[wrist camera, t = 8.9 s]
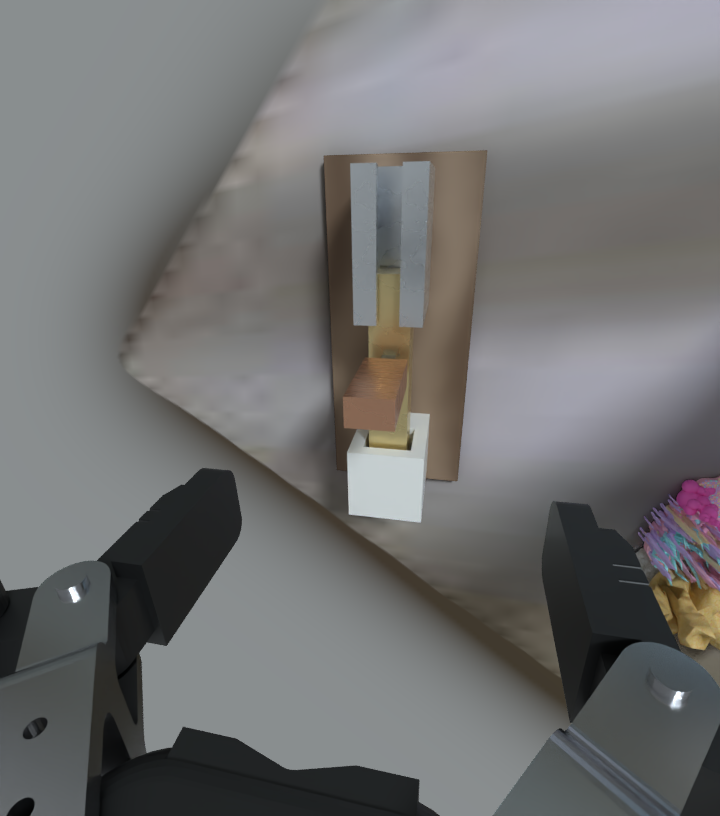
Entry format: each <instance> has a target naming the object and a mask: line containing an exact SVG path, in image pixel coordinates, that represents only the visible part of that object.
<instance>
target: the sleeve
mask: <svg viewBox="0 0 720 816" xmlns="http://www.w3.org/2000/svg"><path fill="white" fill-rule="evenodd" d="M350 175H351V225H352V274H353V323H354V325H362V326H376V325H377V311H378V267H381V268H400V311H399V327H417V328H423V324H424V320H425V316H426V312H427V309H428V305H429V285H430V265H431V245H432V224H433V204H434V184H435V167H434V165H433V164H432V163H431V162H430V161H415V162H403V166H383V167H378V163H350Z"/></svg>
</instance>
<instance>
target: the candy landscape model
mask: <svg viewBox="0 0 720 816" xmlns="http://www.w3.org/2000/svg"><path fill="white" fill-rule="evenodd" d="M668 496H669V497H670V498H671V499H672V501H673V502H672V501H671V500H670V499H668V502H669V503H670V505H667V506H666V507H665V506H664V504H663V503H660V506H661V508H662V509H663V510H664V512H663V511H661V510H659V511H657V510H656V508H655V507H653V510H654V511H655V512H656V514H657V515H658V516H659V517H661V518H660V519H658V518H657V517H656V516H655V514H654V513H653V512H652V511H651V514H652V516H653V519H654V520H655V521H653V522H652V523H650V521H648V520H647V518H646V516H644V518H645V520H646V521H647V523H648V524H649V526H648V527H649V528H650V532H649V533H648V532H647V533H646V532H644V530H643V528H641V527H640V530H641V531H642V533H643V534H644V535H645V537H644V538H643V537H642V535H641V534H640V532H638V535H639V536H640V537H641V538H642V540H643V542H644V541H645V542H644V548H641V549H640V550H639V551H638V552H637V553H635V554H636V556H637V558H638V560H639V562H640V565H641V570H643V571H644V573H645V575H646V577H647V580H648V582H649V587H651V588H652V590H653V593H654V595H655V597H656V599H657V601H658V603H659V606H660V608H661V610H662V612H663V614H664V616H665V619H666V621H667V623H668V625H669V627H670V629H671V631H672V634H676V633H678V639H679V642H680V644H681V645H684V646H686V647H689V648H693V649H701V650H705V649H706V647H707V645H708V643H710V644H711V645H713V646H714V647H716V648H717V649H719V650H720V476H719V477H717V478H701V479H699V480H698V481H694V480H686V481H684V482H683V484H682V491H680V492H679V493H678V495H677V497H676V501H675V500H674V499H673V498H672V497H671V495H670V494H668Z"/></svg>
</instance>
